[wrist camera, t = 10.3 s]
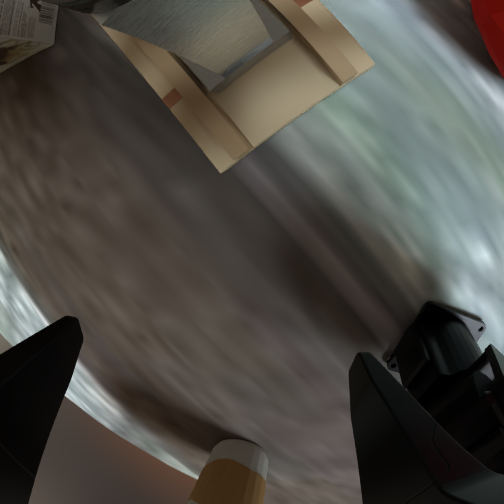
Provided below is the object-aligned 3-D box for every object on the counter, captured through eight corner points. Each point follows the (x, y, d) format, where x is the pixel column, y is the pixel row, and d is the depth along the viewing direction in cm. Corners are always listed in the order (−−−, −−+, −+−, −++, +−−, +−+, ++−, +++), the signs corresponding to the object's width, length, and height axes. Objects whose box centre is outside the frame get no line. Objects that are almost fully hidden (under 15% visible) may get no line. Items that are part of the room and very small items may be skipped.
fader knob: (293, 40, 14) (235, -116, 2) (219, 95, 16) (38, 57, 4) (250, -3, 13) (143, -148, 2) (181, 51, 15) (-1, -11, 4)
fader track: (370, 68, 15) (380, 58, 13) (227, 170, 19) (212, 177, 17) (191, -90, 12) (177, -108, 9) (86, -1, 16) (62, -9, 13)
